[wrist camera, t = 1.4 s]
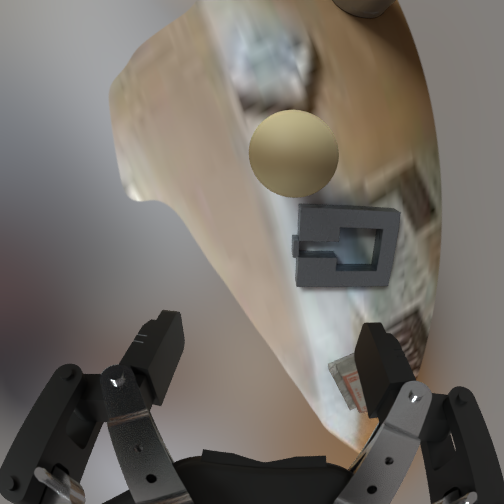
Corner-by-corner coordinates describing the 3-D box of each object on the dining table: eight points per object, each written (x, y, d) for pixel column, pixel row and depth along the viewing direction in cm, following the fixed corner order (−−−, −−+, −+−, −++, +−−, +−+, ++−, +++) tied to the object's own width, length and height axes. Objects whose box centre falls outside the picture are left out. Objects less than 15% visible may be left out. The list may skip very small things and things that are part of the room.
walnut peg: (258, 127, 33) (248, 109, 17) (306, 128, 33) (338, 113, 17) (258, 174, 36) (249, 197, 19) (306, 174, 35) (336, 199, 19)
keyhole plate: (382, 278, 40) (387, 285, 38) (290, 278, 41) (291, 286, 39) (393, 208, 36) (400, 212, 34) (293, 203, 37) (294, 207, 35)
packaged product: (329, 379, 44) (381, 358, 41) (326, 362, 48) (373, 341, 46) (352, 421, 49) (393, 404, 47) (348, 405, 53) (387, 389, 51)
